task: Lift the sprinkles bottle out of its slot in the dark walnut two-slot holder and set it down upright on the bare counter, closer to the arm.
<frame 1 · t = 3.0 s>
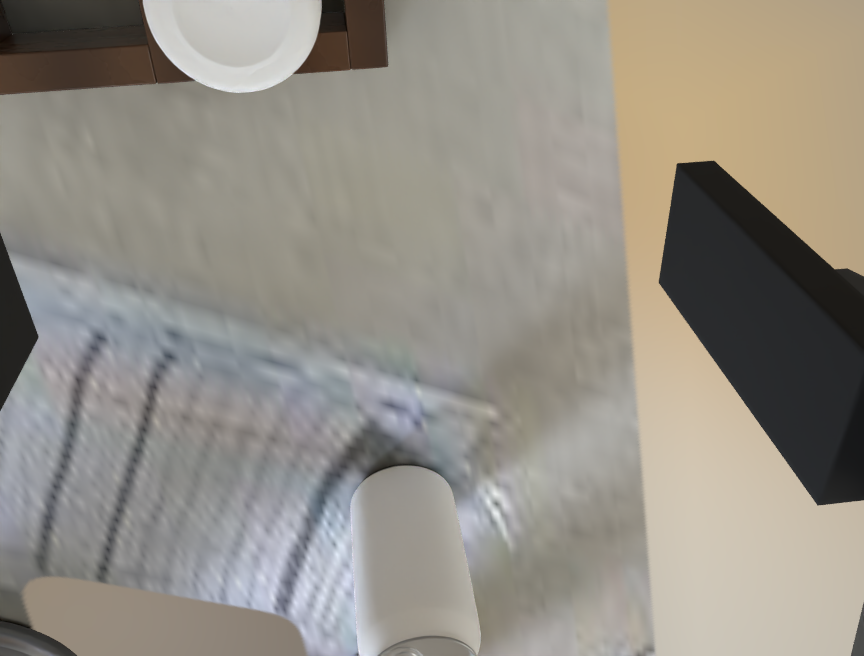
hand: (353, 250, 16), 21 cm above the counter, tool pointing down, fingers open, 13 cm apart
can: (401, 496, 50), on the counter
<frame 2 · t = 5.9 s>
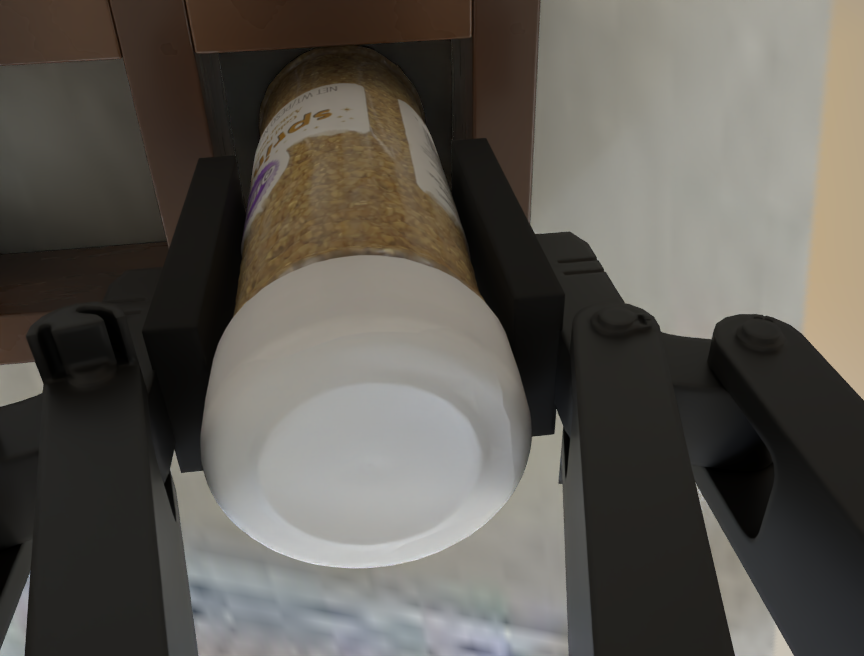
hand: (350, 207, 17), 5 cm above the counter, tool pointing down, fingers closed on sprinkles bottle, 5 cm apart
holder: (204, 136, 21), on the counter
sprinkles bottle: (343, 124, 22), resting in holder, touching gripper
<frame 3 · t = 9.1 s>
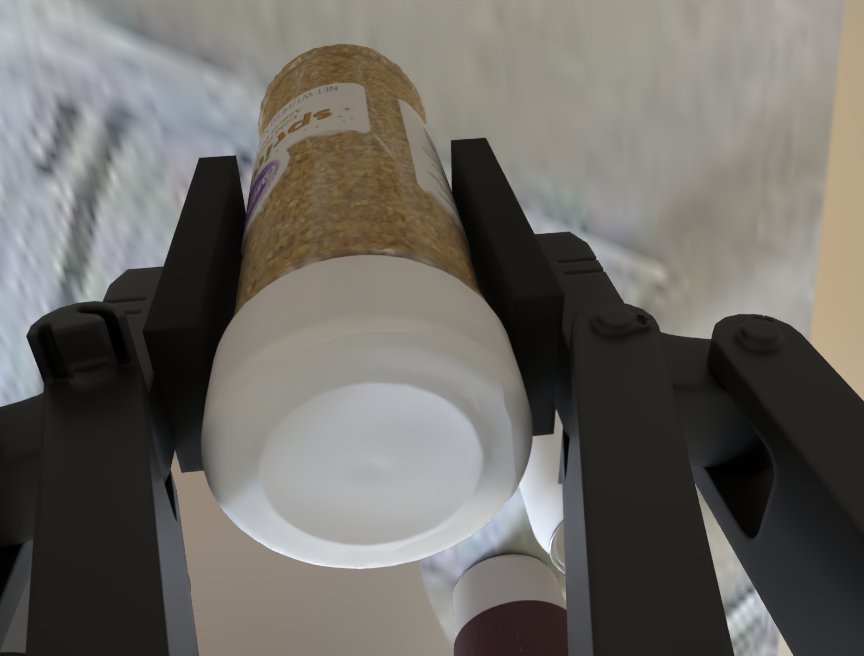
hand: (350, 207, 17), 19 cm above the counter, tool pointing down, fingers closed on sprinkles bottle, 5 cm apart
sprinkles bottle: (343, 124, 22), point 13 cm above the counter, touching gripper
coffee cup: (503, 583, 55), on the counter
can: (546, 374, 45), on the counter
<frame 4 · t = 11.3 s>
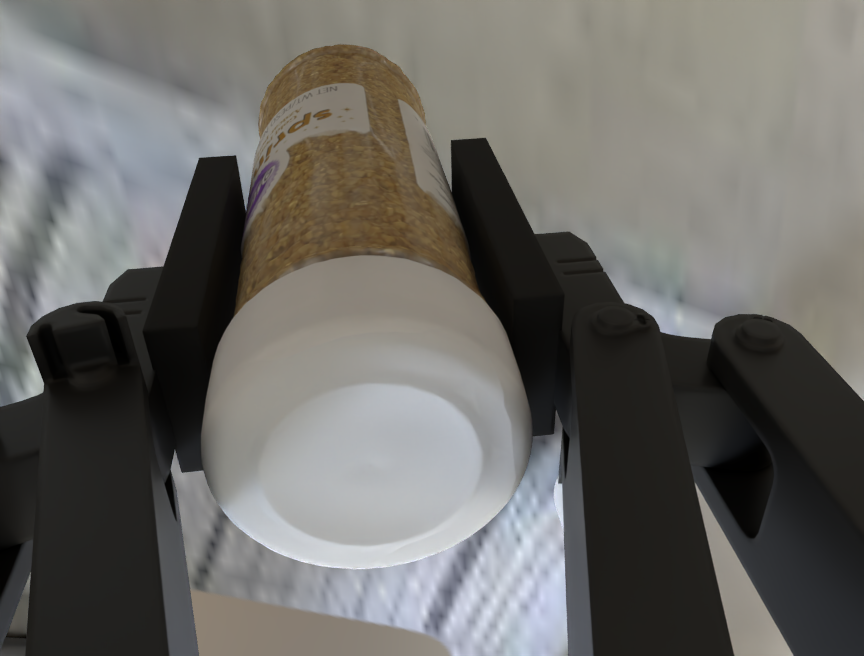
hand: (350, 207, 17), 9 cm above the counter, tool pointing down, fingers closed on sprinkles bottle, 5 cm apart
sprinkles bottle: (343, 124, 22), point 3 cm above the counter, touching gripper
can: (619, 473, 36), on the counter
when the fingers open (5 cm above the counter, at t = 12.5 s): sprinkles bottle stays where it is, on the counter.
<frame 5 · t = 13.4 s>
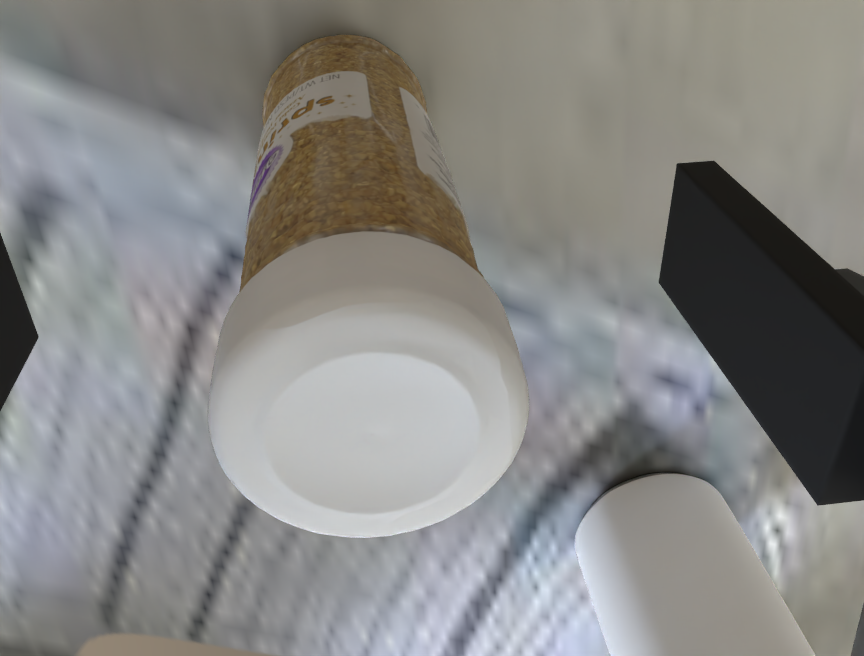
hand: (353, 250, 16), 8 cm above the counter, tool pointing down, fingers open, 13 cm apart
sprinkles bottle: (345, 114, 22), on the counter
can: (645, 519, 33), on the counter
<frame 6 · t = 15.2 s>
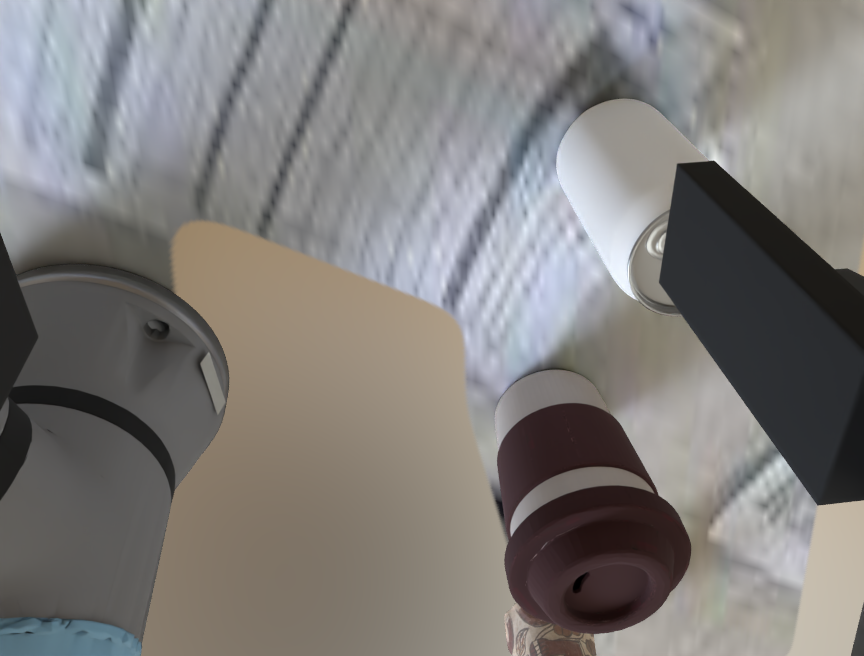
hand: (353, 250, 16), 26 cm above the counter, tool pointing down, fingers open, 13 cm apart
coffee cup: (545, 407, 53), on the counter
figurine: (544, 616, 66), on the counter
can: (611, 152, 43), on the counter
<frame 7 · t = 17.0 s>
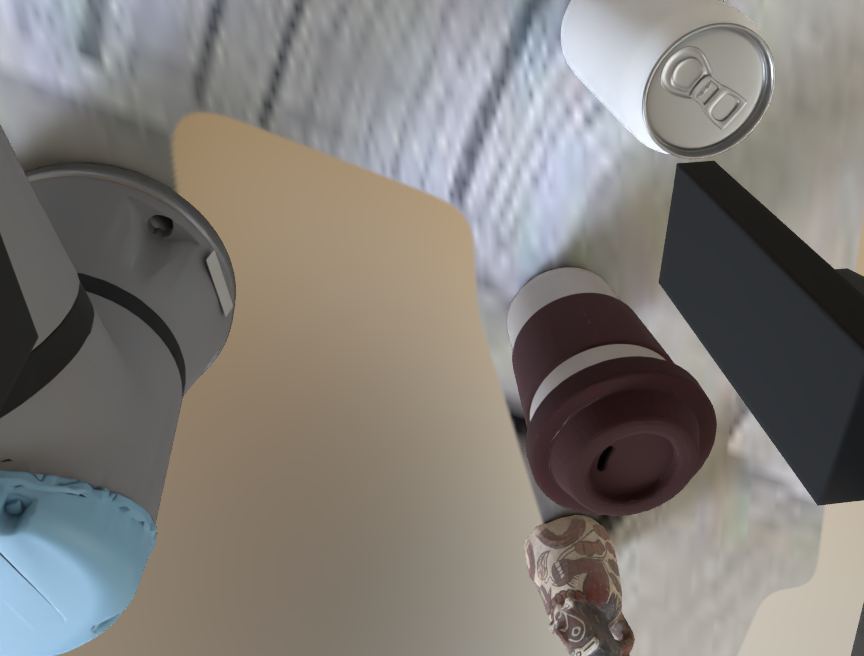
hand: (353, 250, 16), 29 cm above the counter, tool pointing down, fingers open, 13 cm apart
coffee cup: (558, 310, 52), on the counter
figurine: (565, 542, 65), on the counter
can: (616, 25, 43), on the counter
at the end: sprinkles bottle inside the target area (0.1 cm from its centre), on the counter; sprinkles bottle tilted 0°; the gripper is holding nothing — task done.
